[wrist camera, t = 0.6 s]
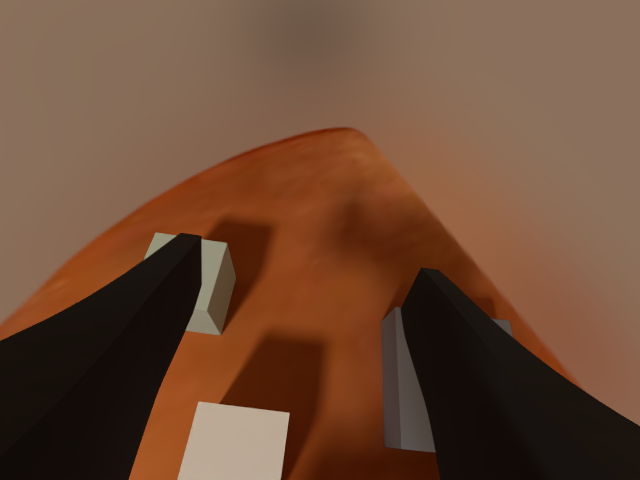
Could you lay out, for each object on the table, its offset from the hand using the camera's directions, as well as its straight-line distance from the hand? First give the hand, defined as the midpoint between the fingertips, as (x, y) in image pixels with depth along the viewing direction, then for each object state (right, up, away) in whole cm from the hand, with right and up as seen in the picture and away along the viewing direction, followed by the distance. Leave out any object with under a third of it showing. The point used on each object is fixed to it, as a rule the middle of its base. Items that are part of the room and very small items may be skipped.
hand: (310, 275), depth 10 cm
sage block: (-10, -4, +16) cm, 19 cm away
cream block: (-5, -13, +11) cm, 18 cm away
